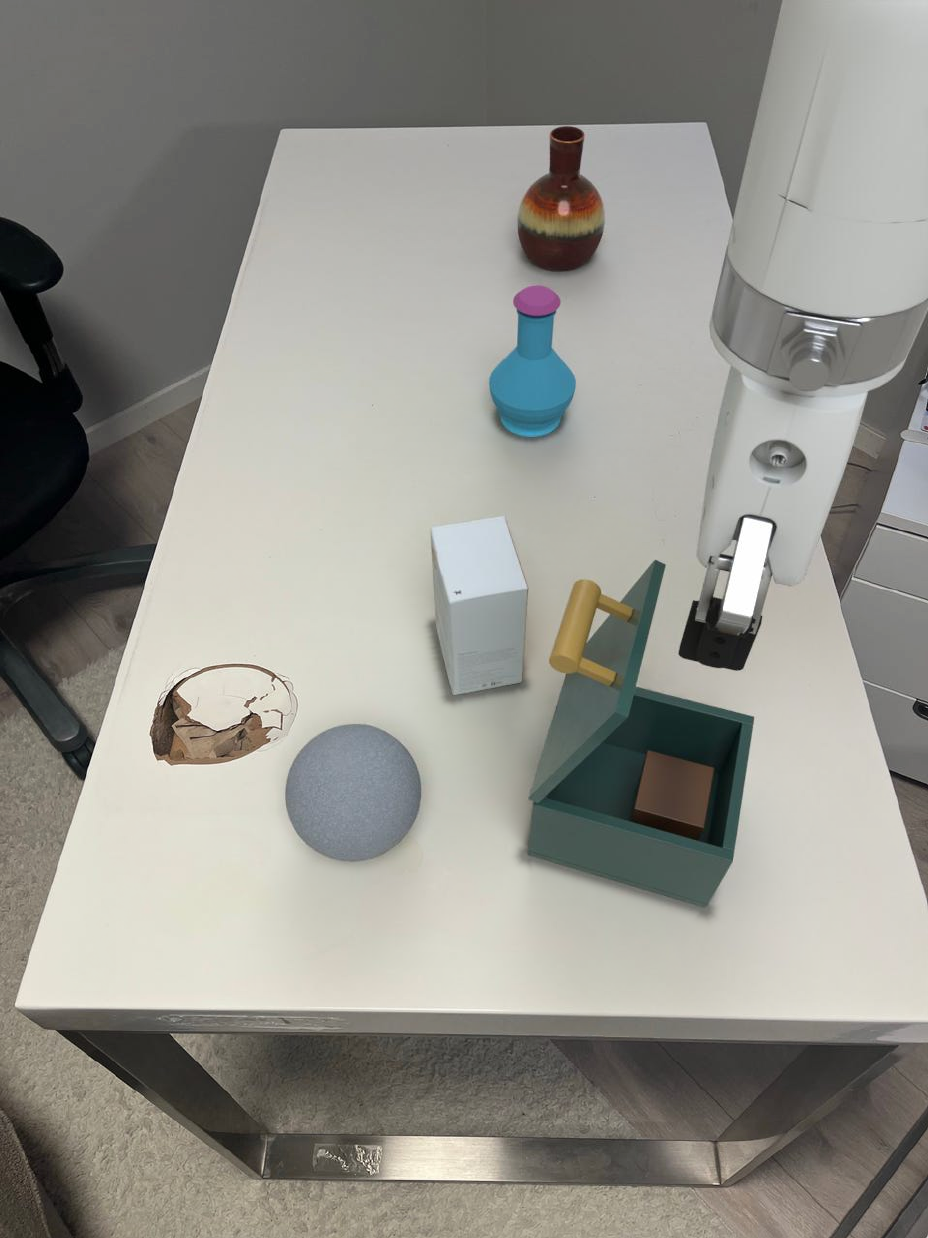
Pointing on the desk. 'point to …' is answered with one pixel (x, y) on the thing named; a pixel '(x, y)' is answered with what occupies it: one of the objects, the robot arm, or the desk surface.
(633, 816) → the block
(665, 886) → the green hollow open box
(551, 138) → the vase
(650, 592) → the lid
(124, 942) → the desk surface
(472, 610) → the small box
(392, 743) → the decorative stone
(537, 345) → the perfume bottle
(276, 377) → the desk surface
